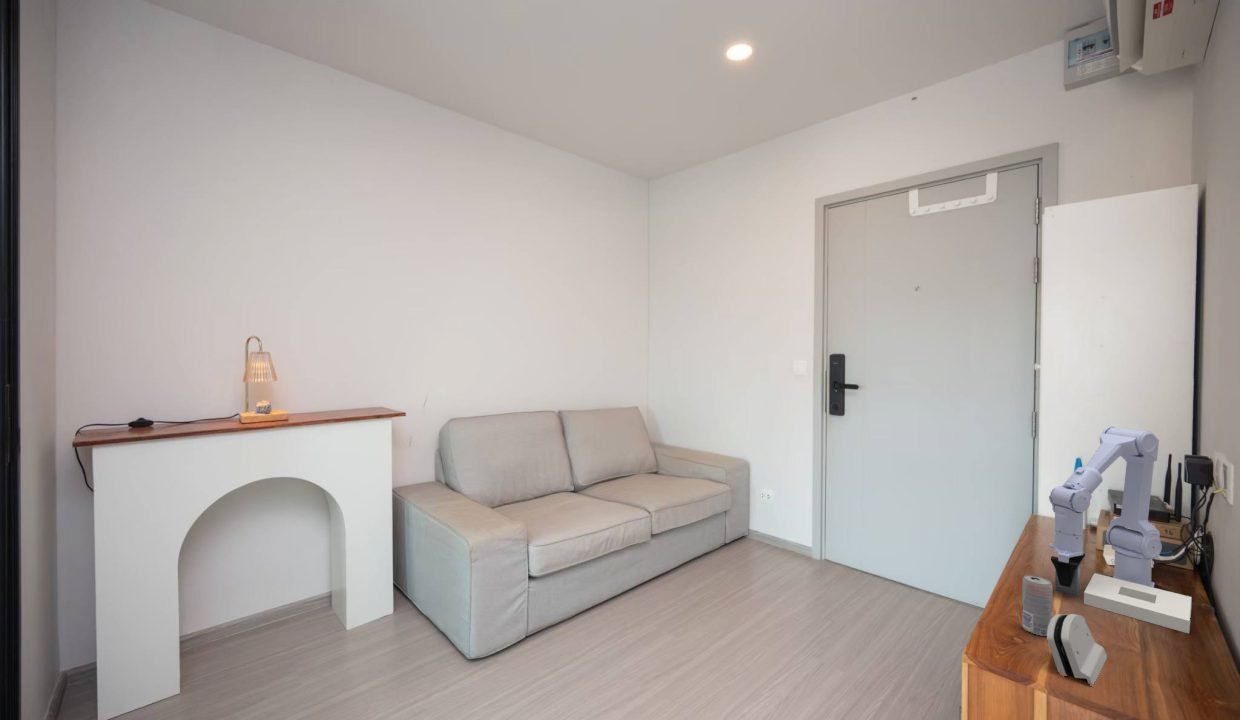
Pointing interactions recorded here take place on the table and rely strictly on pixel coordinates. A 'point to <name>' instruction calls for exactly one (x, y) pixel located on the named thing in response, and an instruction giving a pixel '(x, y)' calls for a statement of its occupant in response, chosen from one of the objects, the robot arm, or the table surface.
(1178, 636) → the table surface
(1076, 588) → the square peg
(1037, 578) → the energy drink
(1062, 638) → the grey black angular block
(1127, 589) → the hole board
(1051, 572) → the table surface
